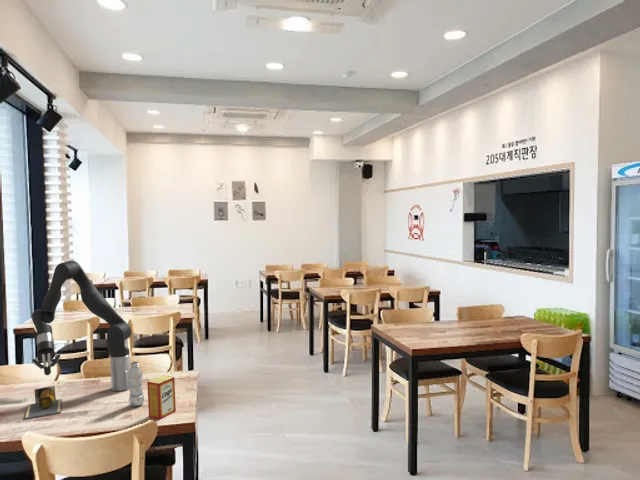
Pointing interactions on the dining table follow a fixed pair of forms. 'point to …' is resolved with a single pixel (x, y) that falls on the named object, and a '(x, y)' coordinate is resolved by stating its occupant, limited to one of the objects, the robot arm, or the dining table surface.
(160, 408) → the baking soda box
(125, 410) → the dining table surface
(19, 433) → the dining table surface
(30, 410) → the mat
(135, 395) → the plastic bottle
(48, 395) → the condiment
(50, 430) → the dining table surface
